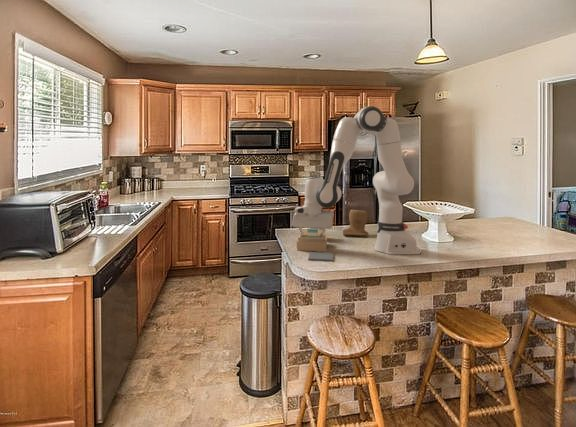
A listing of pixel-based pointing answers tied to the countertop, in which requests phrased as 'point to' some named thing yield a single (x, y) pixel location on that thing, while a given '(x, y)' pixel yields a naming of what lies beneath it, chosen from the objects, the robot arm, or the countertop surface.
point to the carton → (312, 242)
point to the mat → (320, 256)
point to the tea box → (312, 233)
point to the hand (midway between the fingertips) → (311, 236)
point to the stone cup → (356, 223)
